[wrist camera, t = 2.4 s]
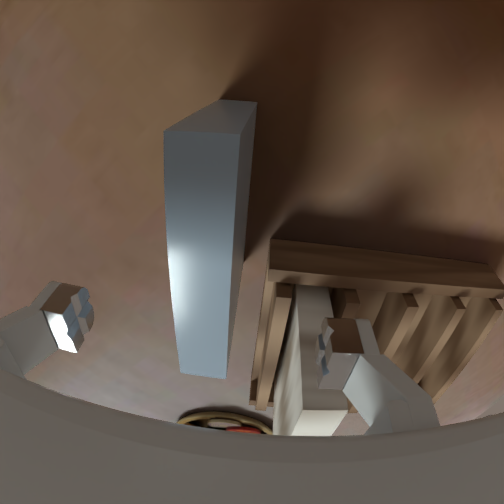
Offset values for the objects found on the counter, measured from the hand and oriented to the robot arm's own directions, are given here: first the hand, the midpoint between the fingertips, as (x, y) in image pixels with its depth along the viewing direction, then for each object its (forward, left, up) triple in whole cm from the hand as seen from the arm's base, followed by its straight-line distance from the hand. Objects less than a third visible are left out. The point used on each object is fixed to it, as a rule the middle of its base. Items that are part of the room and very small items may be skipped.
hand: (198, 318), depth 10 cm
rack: (+9, +11, -10) cm, 17 cm away
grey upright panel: (-1, 0, -10) cm, 10 cm away
